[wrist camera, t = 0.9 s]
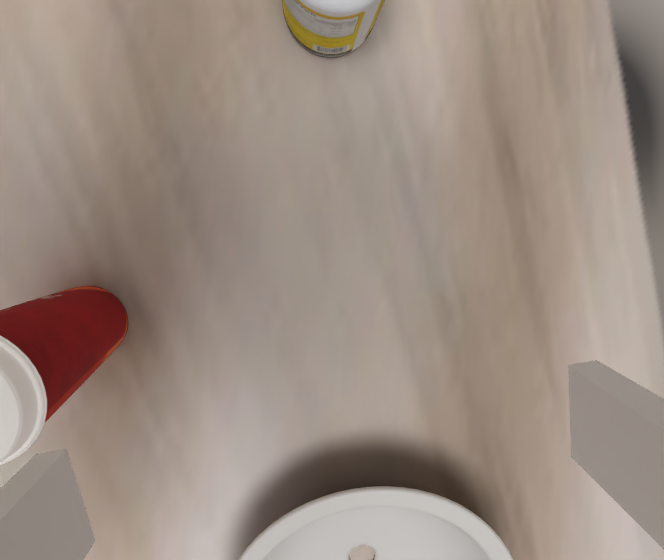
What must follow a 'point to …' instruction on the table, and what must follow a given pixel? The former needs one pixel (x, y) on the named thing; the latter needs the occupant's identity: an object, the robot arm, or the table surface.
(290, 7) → the pill bottle
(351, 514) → the soup bowl
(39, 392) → the paper cup
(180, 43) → the table surface
